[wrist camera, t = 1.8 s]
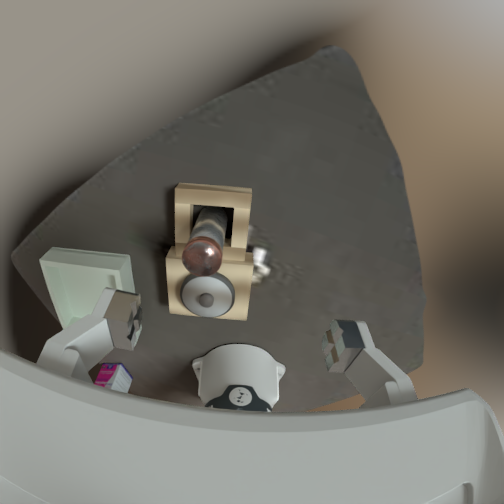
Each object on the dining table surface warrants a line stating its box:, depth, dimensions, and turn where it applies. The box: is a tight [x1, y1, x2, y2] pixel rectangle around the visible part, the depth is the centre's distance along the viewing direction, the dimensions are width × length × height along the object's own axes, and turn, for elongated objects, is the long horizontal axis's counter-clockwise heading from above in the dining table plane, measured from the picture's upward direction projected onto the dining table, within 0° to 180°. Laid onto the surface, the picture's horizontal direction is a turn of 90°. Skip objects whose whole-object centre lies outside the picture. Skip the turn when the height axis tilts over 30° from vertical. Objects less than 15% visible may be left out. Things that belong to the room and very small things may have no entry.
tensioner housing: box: [166, 183, 253, 320], centre depth 38 cm, size 20×12×6 cm, turn 174°
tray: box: [39, 247, 142, 346], centre depth 42 cm, size 16×16×4 cm
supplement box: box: [94, 363, 133, 393], centre depth 51 cm, size 6×6×12 cm
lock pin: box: [182, 206, 228, 277], centre depth 33 cm, size 4×4×11 cm
